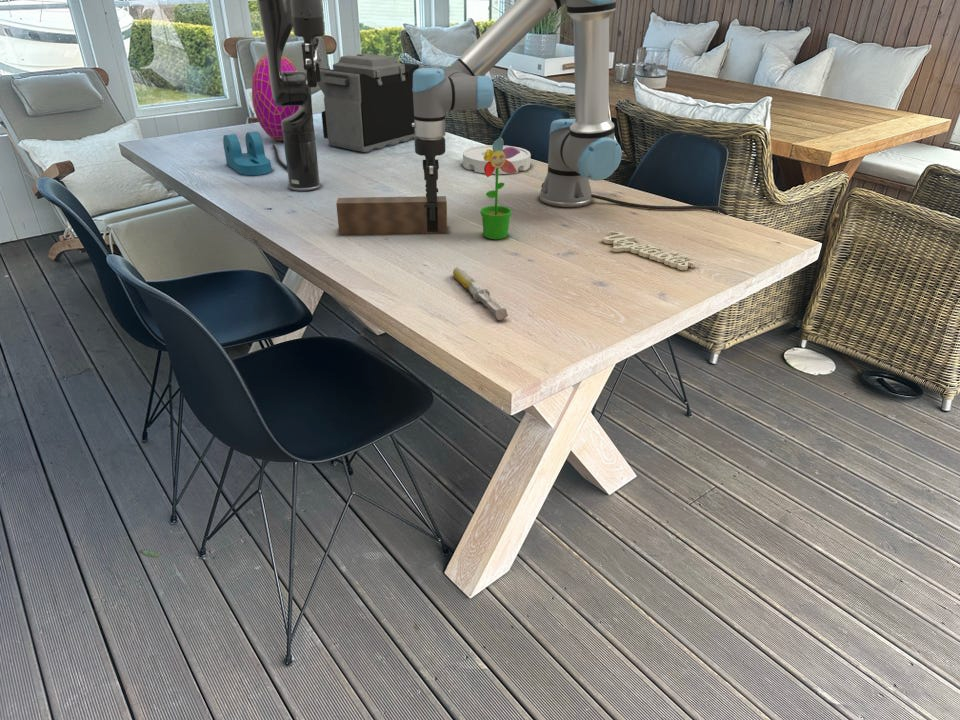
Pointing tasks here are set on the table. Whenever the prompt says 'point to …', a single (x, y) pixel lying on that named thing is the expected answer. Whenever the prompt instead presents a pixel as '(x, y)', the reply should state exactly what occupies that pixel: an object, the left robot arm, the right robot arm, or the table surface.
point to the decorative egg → (269, 99)
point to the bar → (387, 215)
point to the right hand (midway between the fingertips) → (432, 224)
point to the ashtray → (476, 162)
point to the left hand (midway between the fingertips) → (314, 84)
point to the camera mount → (246, 154)
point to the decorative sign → (647, 251)
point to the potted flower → (497, 215)
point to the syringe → (479, 293)
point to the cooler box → (368, 102)
